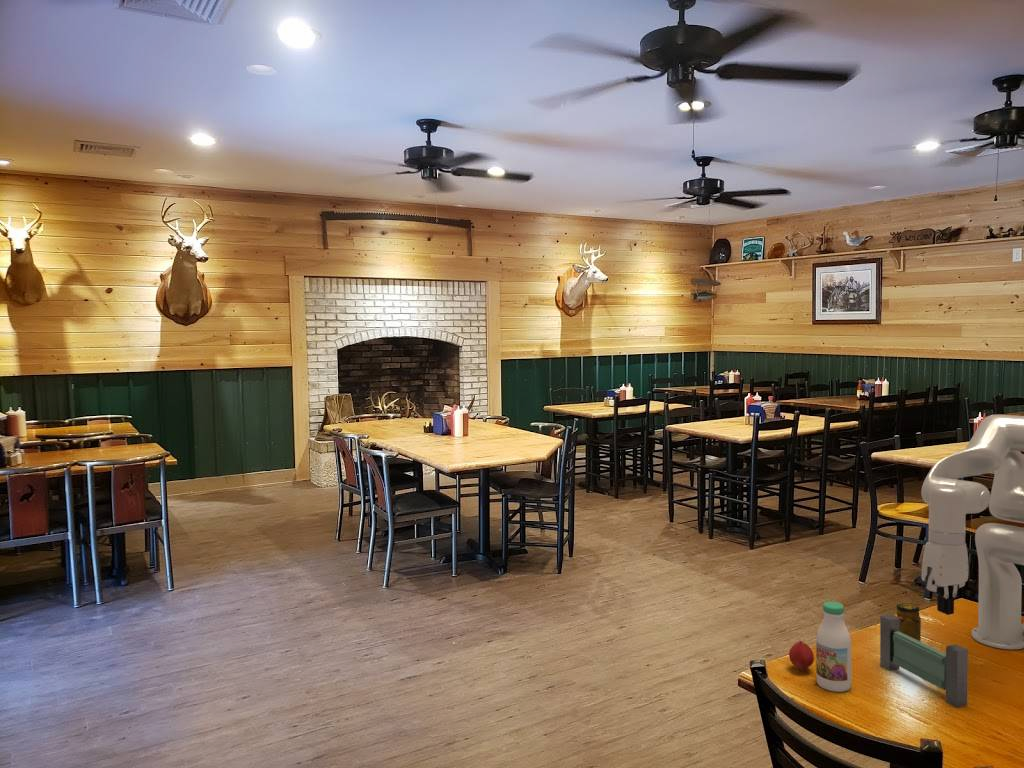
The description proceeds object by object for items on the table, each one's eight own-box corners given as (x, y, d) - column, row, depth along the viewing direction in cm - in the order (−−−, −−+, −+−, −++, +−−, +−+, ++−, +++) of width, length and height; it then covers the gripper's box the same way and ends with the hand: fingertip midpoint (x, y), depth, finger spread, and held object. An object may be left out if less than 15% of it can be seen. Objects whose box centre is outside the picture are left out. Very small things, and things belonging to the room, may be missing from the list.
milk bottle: (824, 674, 183) (823, 596, 181) (856, 684, 177) (856, 603, 175) (811, 685, 177) (810, 605, 176) (843, 696, 172) (843, 613, 170)
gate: (949, 689, 169) (949, 655, 169) (942, 690, 169) (942, 657, 168) (898, 662, 183) (898, 631, 182) (892, 663, 182) (892, 632, 182)
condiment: (900, 641, 199) (900, 598, 198) (933, 651, 192) (934, 607, 191) (888, 650, 194) (888, 606, 193) (922, 660, 188) (922, 615, 187)
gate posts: (889, 663, 187) (889, 613, 186) (967, 705, 166) (967, 649, 165) (880, 665, 186) (880, 615, 185) (957, 707, 165) (957, 651, 164)
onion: (785, 665, 188) (784, 635, 187) (806, 664, 188) (806, 633, 188) (795, 676, 182) (795, 645, 181) (818, 674, 182) (818, 643, 182)
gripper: (956, 529, 180) (955, 602, 182) (909, 536, 176) (908, 611, 177) (984, 537, 173) (983, 613, 175) (935, 545, 169) (934, 622, 170)
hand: (945, 612), depth 176 cm, fingers closed
